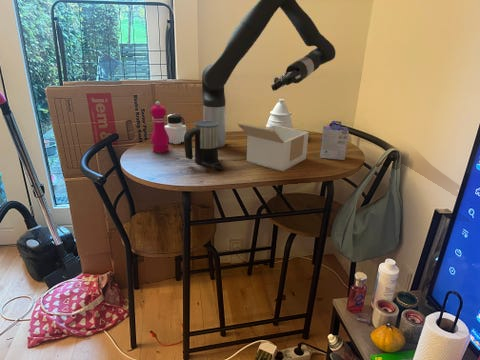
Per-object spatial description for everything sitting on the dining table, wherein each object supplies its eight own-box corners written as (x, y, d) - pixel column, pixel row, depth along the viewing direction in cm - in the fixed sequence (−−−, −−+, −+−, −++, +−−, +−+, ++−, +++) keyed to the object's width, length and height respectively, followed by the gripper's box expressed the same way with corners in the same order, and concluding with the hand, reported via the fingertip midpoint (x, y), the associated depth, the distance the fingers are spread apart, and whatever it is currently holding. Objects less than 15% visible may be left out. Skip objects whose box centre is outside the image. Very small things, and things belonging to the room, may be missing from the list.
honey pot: (293, 141, 163) (297, 101, 155) (266, 140, 163) (268, 100, 156) (290, 133, 174) (293, 96, 167) (264, 132, 174) (266, 95, 167)
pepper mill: (154, 153, 141) (150, 103, 133) (149, 148, 147) (146, 100, 139) (171, 151, 144) (169, 102, 136) (166, 146, 150) (164, 99, 142)
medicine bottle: (186, 141, 158) (186, 114, 153) (176, 144, 153) (174, 117, 148) (175, 138, 162) (173, 112, 157) (164, 141, 156) (162, 115, 151)
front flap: (283, 142, 122) (283, 143, 122) (248, 134, 130) (248, 135, 130) (274, 130, 115) (273, 131, 115) (237, 122, 123) (237, 124, 123)
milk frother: (204, 155, 141) (204, 118, 135) (238, 163, 133) (239, 125, 127) (181, 165, 130) (179, 126, 124) (215, 175, 122) (215, 133, 116)
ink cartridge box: (344, 156, 144) (349, 121, 139) (345, 160, 139) (350, 124, 134) (319, 154, 146) (324, 119, 140) (319, 158, 141) (324, 122, 135)
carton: (283, 172, 126) (286, 142, 122) (245, 161, 135) (246, 133, 131) (307, 158, 140) (310, 132, 135) (271, 150, 149) (272, 124, 145)
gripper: (284, 63, 142) (257, 81, 133) (310, 57, 132) (283, 75, 123) (290, 81, 145) (264, 99, 136) (316, 76, 135) (290, 95, 126)
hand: (273, 88), depth 129 cm, fingers closed
